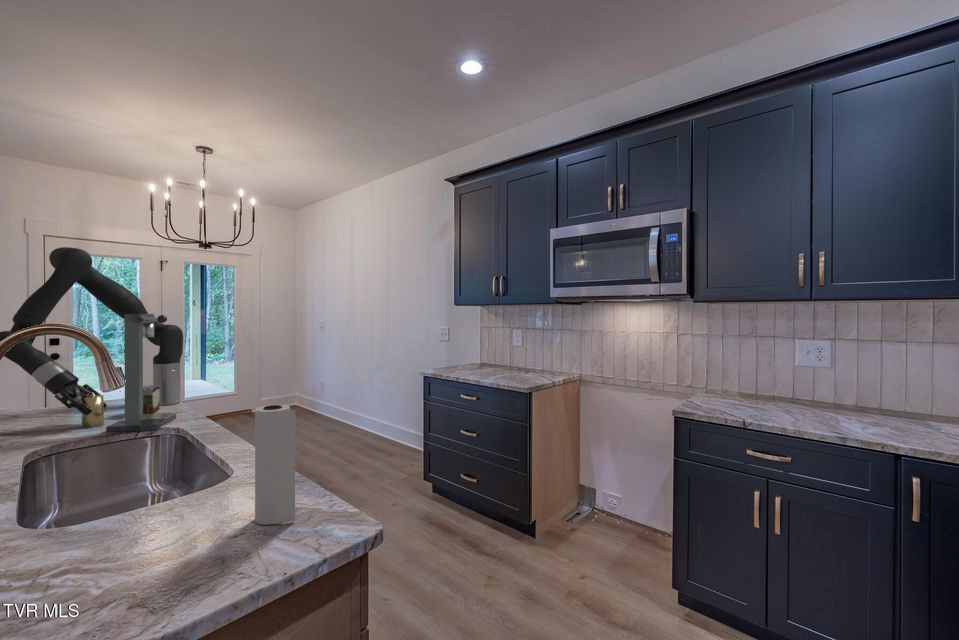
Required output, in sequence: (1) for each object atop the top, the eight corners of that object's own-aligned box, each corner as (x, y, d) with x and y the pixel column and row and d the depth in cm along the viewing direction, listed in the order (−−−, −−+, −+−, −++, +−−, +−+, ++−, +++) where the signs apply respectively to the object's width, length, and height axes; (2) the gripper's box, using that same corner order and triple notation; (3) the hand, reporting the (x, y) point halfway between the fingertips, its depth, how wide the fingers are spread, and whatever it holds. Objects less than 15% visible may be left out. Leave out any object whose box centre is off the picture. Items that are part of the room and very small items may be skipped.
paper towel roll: (252, 516, 83) (252, 405, 83) (285, 508, 87) (285, 402, 86) (259, 531, 77) (259, 413, 77) (295, 522, 81) (295, 408, 81)
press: (130, 421, 152) (129, 313, 151) (183, 418, 156) (183, 314, 156) (106, 433, 137) (105, 314, 137) (165, 429, 142) (165, 314, 141)
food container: (141, 411, 168) (141, 385, 168) (160, 409, 170) (160, 384, 170) (131, 418, 157) (131, 390, 156) (152, 416, 159) (152, 389, 159)
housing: (87, 424, 148) (87, 393, 147) (107, 423, 149) (107, 392, 149) (77, 428, 142) (77, 396, 142) (97, 427, 144) (97, 396, 144)
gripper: (50, 372, 136) (94, 406, 140) (78, 366, 150) (118, 398, 153) (29, 389, 135) (74, 424, 138) (60, 382, 149) (100, 413, 152)
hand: (97, 410), depth 146 cm, fingers open, 8 cm apart
